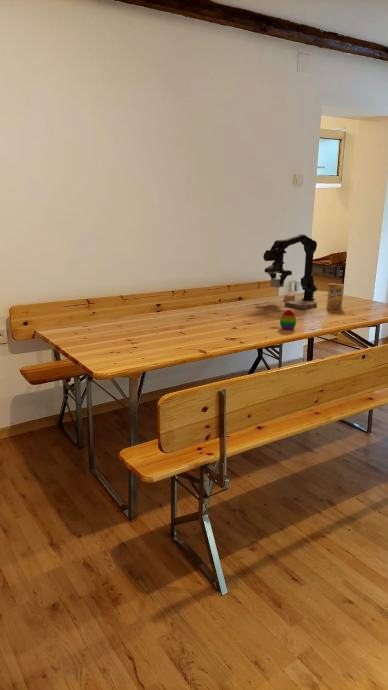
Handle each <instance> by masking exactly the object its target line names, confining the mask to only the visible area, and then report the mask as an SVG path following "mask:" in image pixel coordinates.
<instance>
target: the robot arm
mask: <svg viewBox="0 0 388 690" xmlns="http://www.w3.org/2000/svg"><path fill="white" fill-rule="evenodd" d="M297 243H300V244H301V245H302V246H303V250H304V252H305V257H304V259H305V261H304V274H303V277H300V282H299V283H300V284H299V285H300V287H301V289H302V290H303V298H301V300H303V301H308V302H312V301H316V298H314V295H315V294H314V293H315V292H317V290H318V288H317V287H316V285H315V281H314V277H313V266H314V265H313V264H314V263H313V262H314V254H315V253H316V251H317V246H318V242H317V241H316V240H314V239H312V238H310V237H308V236H307V235H306V234H298V235H296V236H292V237H290V238H289V237H288V238H286V239H276V240H275V241H274V242H273V244H272V246H271V247H270V249H269V250H268V249H267V250H265V252H264V253H263V260H264V261H265V262H272V264H270V265H268V266H267V267H265V268H264V273H266V274H268V276H269V277H270V280H271V279H272V278H277V274H279V278H280V286H282V284H283V282H284V283H285V281H286V279H287V277H289V276H292V275H293V271H292V270H289V269H284V268H283V267H284V265H285V261H284V258H285V257H284V256H285V255H284V254H287V251H286V249H288V248H289V247H290V246H292V245H295V244H297Z"/></svg>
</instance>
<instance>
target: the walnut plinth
mask: <svg viewBox="0 0 388 690" xmlns="http://www.w3.org/2000/svg"><path fill="white" fill-rule="evenodd" d="M317 304H318V303H317V302H314V301H313V302H312V301H308V300H303V299H297V300H296V299H295V301H289V302H288V301H284V307H287V308H293V309H297V310H301V311H304V310H311V309H313V308H314V309H315V308H317V306H318V305H317Z"/></svg>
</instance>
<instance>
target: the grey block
mask: <svg viewBox="0 0 388 690" xmlns="http://www.w3.org/2000/svg"><path fill="white" fill-rule="evenodd" d="M284 286H285V281H284V282H283V284H282V286H280V277H276V278H272V279H271V278H270V287H272V288H277V289H278V288H283V287H284Z"/></svg>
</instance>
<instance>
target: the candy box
mask: <svg viewBox="0 0 388 690" xmlns="http://www.w3.org/2000/svg"><path fill="white" fill-rule="evenodd" d="M344 287H345V284H344V283H329V284H328V290H327V300H326V301H327V303H326V309H332V310H340V311H341V310H342V307H343V299H344V290H345V289H344Z"/></svg>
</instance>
